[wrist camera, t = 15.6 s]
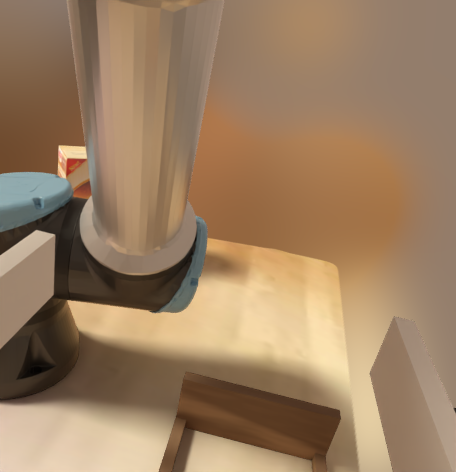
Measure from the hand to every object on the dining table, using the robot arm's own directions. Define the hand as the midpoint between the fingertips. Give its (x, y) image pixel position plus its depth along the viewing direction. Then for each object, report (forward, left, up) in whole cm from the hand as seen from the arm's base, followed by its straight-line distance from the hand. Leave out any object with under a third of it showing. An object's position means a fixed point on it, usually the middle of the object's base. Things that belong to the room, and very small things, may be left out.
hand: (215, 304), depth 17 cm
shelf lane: (-17, +7, -32) cm, 37 cm away
